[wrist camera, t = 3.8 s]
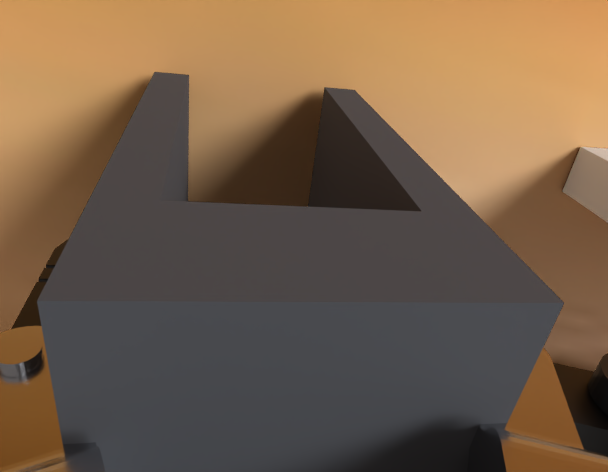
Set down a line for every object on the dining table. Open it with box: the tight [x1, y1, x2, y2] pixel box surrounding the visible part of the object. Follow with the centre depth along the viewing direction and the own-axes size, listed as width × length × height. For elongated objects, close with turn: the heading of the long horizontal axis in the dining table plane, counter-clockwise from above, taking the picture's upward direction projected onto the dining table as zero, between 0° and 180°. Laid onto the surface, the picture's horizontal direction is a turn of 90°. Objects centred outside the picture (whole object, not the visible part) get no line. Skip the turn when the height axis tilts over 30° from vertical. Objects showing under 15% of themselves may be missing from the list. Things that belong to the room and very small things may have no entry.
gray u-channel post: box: [37, 72, 564, 472], centre depth 10 cm, size 6×5×9 cm
